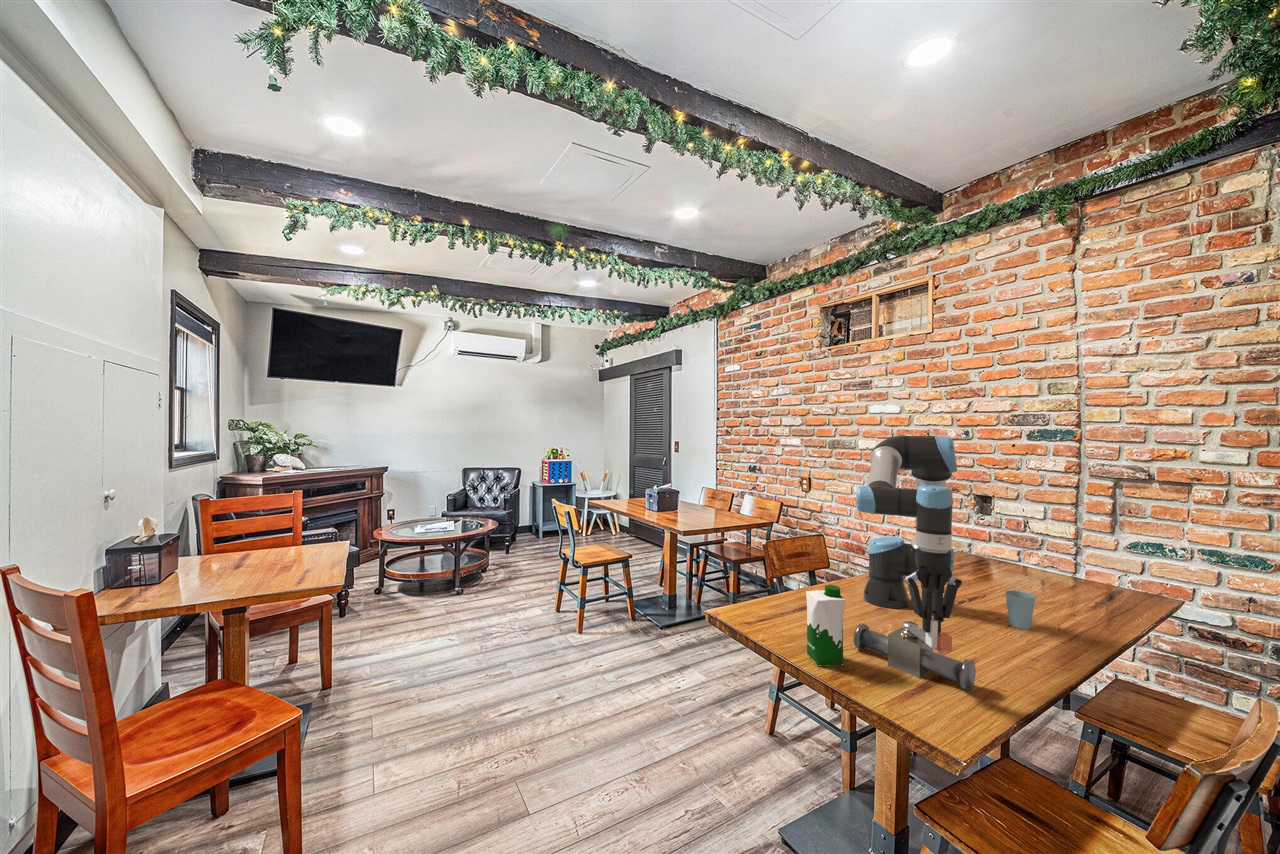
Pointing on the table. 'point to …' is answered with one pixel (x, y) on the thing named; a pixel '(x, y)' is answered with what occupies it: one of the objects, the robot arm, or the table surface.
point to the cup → (1020, 608)
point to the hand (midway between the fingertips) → (931, 645)
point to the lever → (943, 638)
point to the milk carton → (825, 625)
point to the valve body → (915, 655)
